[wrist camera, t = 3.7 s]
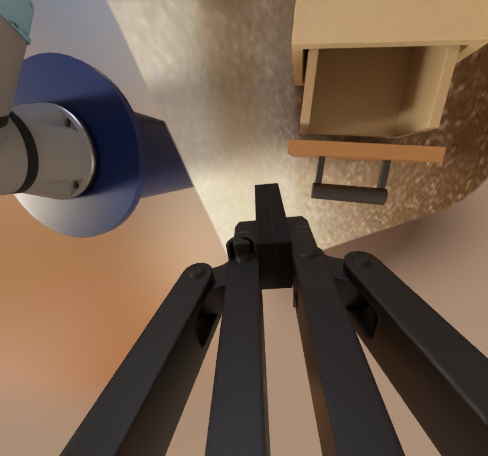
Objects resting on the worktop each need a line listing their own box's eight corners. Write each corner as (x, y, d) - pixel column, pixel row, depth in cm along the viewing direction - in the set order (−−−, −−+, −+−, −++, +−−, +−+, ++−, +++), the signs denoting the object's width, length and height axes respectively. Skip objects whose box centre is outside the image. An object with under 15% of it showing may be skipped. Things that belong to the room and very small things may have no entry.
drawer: (391, 199, 29) (428, 213, 21) (287, 189, 32) (282, 199, 23) (435, 12, 24) (507, -69, 16) (306, 18, 27) (309, -48, 18)
